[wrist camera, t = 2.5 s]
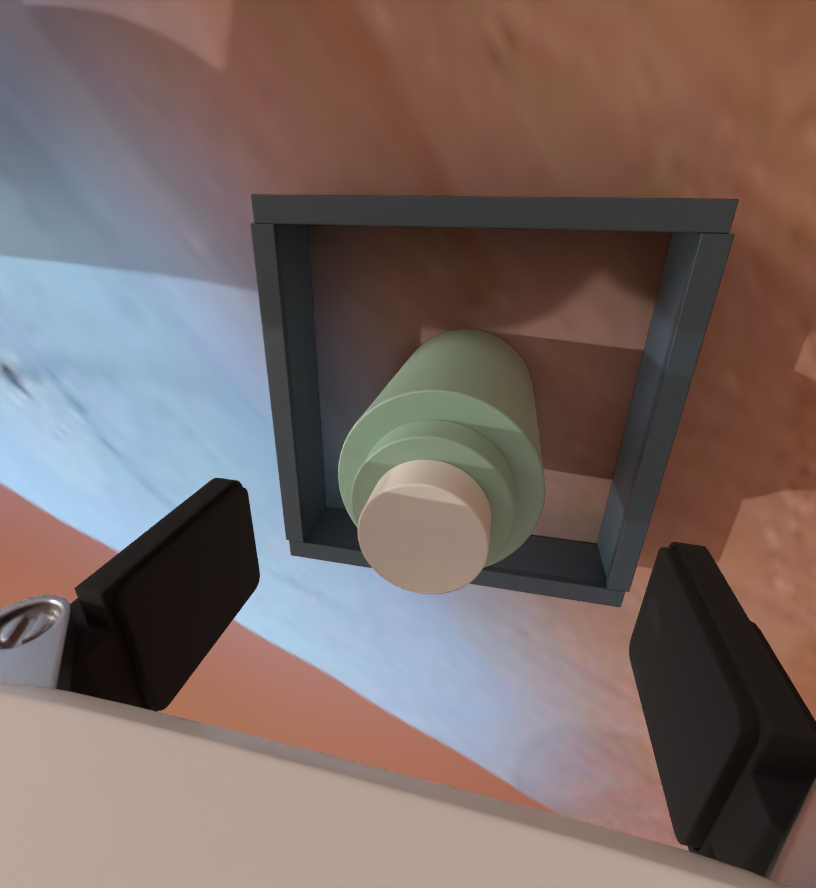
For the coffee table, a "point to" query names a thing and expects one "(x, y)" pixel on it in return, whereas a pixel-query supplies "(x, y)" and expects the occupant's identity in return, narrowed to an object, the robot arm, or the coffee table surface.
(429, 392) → the detergent bottle
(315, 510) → the rectangular frame
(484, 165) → the coffee table surface
